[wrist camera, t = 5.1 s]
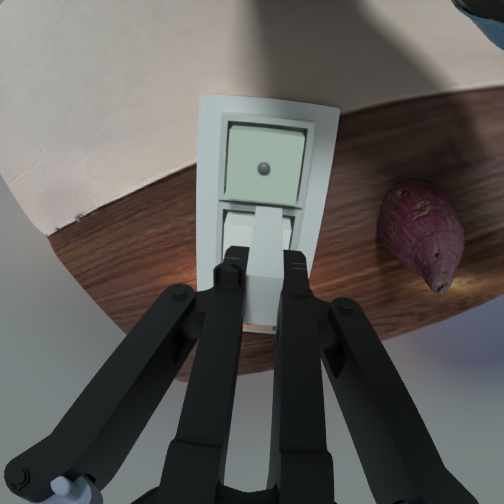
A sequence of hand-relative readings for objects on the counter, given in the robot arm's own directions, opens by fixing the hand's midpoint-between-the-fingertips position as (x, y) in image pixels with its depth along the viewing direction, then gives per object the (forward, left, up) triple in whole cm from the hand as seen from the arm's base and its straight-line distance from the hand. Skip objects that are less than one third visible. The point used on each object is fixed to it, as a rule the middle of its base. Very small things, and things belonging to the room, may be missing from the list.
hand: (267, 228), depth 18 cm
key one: (-1, 0, -13) cm, 13 cm away
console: (+8, 0, -16) cm, 18 cm away
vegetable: (+4, +19, -16) cm, 25 cm away
